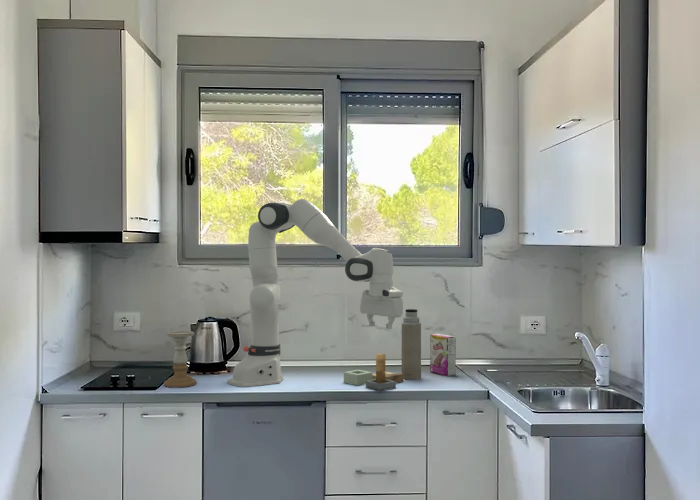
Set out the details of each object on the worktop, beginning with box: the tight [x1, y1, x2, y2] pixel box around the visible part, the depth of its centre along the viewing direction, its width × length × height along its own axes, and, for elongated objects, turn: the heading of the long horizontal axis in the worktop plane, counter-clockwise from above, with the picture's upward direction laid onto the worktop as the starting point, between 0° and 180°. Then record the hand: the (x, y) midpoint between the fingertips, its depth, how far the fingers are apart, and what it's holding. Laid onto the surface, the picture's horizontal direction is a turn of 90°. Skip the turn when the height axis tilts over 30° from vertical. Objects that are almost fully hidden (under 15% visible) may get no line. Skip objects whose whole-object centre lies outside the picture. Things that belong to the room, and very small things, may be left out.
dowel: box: [375, 353, 386, 384], centre depth 234 cm, size 4×4×12 cm
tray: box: [365, 379, 397, 392], centre depth 234 cm, size 8×8×2 cm
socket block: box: [343, 369, 373, 386], centre depth 244 cm, size 8×8×4 cm
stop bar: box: [385, 372, 405, 384], centre depth 244 cm, size 10×3×3 cm, turn 131°
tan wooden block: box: [372, 371, 395, 380], centre depth 248 cm, size 9×7×3 cm
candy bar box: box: [429, 333, 457, 377], centre depth 262 cm, size 11×5×16 cm, turn 34°
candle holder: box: [163, 330, 197, 388], centre depth 240 cm, size 12×12×20 cm
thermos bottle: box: [401, 308, 422, 380], centre depth 254 cm, size 8×8×28 cm
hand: (380, 327), depth 234 cm, fingers open, 8 cm apart
